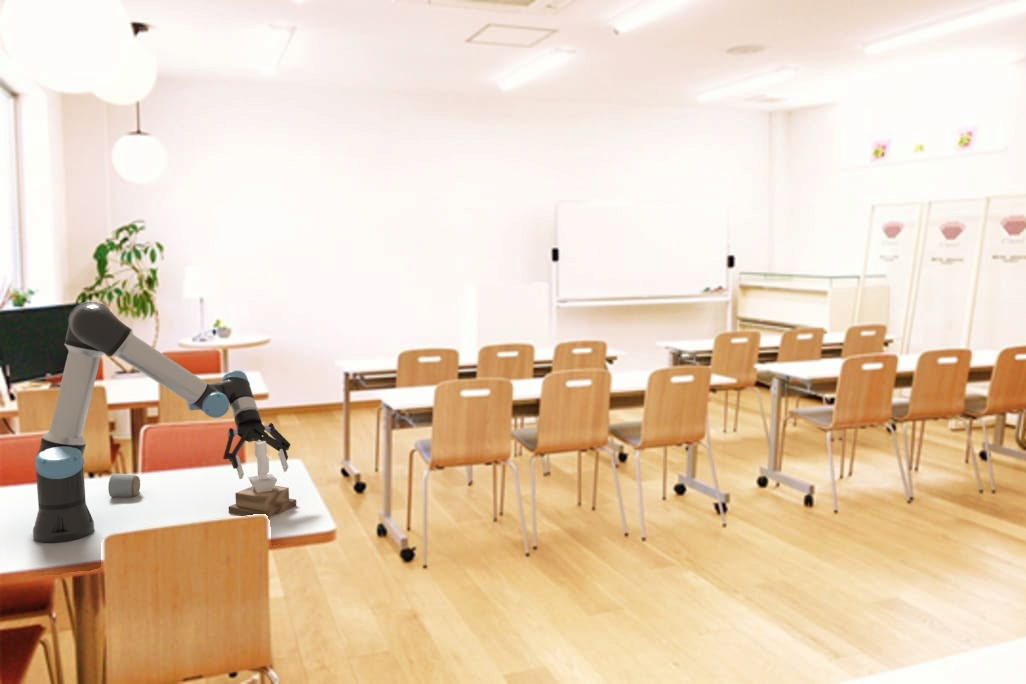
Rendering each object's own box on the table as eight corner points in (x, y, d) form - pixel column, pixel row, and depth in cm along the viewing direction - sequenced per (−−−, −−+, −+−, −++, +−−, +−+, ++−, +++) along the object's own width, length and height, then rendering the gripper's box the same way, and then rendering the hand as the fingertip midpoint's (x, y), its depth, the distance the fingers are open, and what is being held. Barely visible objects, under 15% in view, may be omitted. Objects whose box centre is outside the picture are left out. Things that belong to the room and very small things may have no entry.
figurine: (254, 495, 254) (252, 446, 252) (247, 487, 262) (245, 439, 261) (278, 492, 258) (277, 443, 256) (271, 484, 266) (269, 437, 264)
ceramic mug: (134, 499, 270) (133, 476, 269) (108, 500, 269) (107, 477, 268) (145, 490, 280) (144, 468, 279) (120, 490, 279) (118, 468, 278)
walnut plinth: (265, 519, 251) (264, 499, 251) (228, 513, 257) (228, 493, 256) (296, 505, 264) (295, 487, 263) (260, 499, 270) (260, 481, 269)
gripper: (282, 416, 277) (300, 472, 267) (203, 426, 263) (219, 486, 253) (287, 403, 272) (307, 459, 262) (207, 412, 258) (224, 472, 248)
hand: (264, 473), depth 257 cm, fingers open, 13 cm apart
